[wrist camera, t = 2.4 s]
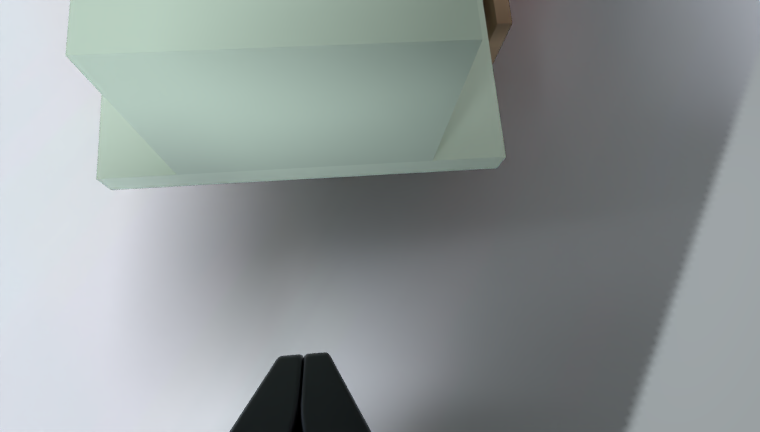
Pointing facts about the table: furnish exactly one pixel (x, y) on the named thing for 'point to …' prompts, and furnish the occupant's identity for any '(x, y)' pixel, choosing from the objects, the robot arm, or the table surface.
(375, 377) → the table surface
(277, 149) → the lid
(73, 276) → the table surface
